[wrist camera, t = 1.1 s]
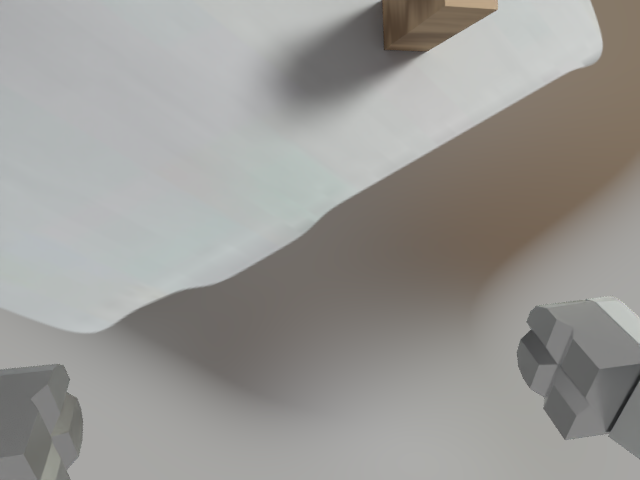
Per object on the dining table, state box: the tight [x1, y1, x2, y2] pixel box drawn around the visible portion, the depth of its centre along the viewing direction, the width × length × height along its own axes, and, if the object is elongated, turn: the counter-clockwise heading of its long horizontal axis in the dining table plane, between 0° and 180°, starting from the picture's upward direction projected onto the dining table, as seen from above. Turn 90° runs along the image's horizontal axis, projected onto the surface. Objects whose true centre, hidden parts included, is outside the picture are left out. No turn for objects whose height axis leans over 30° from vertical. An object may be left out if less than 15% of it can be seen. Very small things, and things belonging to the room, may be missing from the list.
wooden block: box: [382, 0, 498, 51], centre depth 46 cm, size 5×5×12 cm
